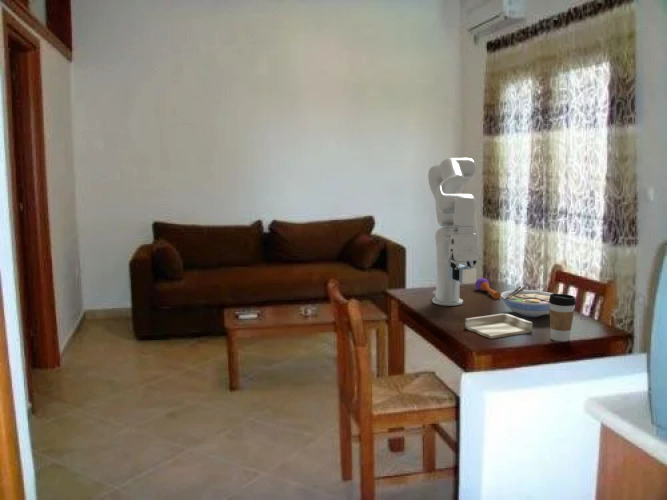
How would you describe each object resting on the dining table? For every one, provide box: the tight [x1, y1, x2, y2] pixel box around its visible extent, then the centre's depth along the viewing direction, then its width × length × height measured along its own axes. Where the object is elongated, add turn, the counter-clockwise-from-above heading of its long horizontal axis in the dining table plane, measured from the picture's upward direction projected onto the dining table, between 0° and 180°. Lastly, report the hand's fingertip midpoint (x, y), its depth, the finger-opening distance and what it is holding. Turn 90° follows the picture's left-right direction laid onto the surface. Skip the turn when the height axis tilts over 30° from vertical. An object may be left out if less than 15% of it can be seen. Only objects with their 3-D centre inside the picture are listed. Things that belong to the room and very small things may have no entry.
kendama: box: [475, 277, 501, 300], centre depth 274 cm, size 6×6×20 cm
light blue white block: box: [448, 263, 478, 285], centre depth 229 cm, size 10×5×5 cm, turn 26°
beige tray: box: [464, 312, 533, 340], centre depth 218 cm, size 14×18×4 cm
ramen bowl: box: [500, 285, 554, 318], centre depth 238 cm, size 25×23×8 cm
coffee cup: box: [549, 293, 577, 342], centre depth 207 cm, size 8×8×15 cm
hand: (462, 278), depth 229 cm, fingers closed on light blue white block, 5 cm apart
